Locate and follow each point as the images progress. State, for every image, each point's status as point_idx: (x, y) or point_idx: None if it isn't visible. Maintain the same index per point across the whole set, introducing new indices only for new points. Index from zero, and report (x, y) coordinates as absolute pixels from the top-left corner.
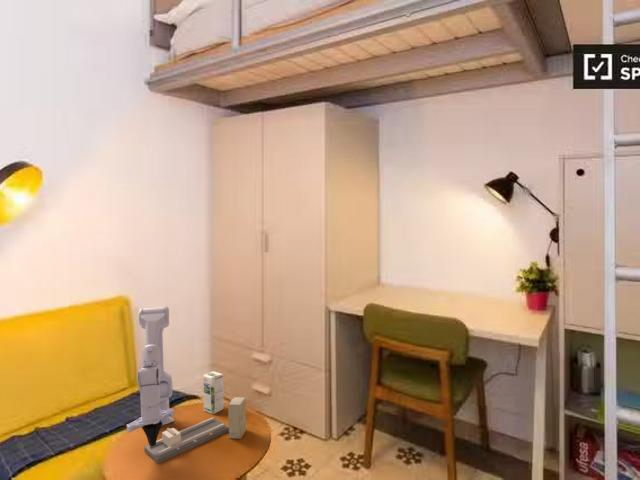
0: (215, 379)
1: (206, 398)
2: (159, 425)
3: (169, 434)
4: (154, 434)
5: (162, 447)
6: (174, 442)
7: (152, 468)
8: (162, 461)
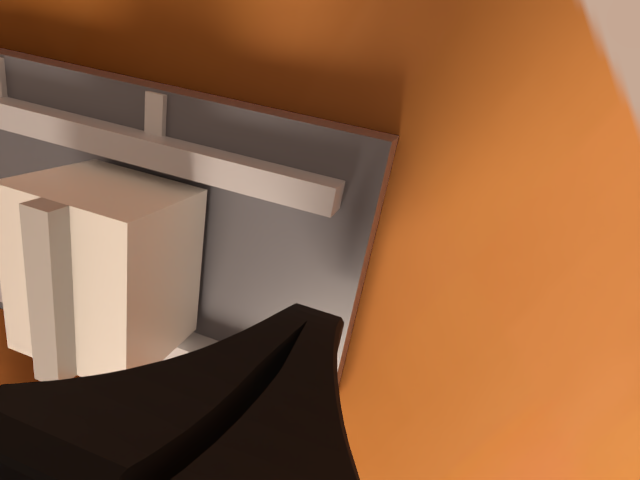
0: None
1: None
2: (13, 438)
3: (90, 280)
4: (242, 390)
5: (237, 272)
6: (129, 182)
7: (490, 114)
8: (351, 126)
